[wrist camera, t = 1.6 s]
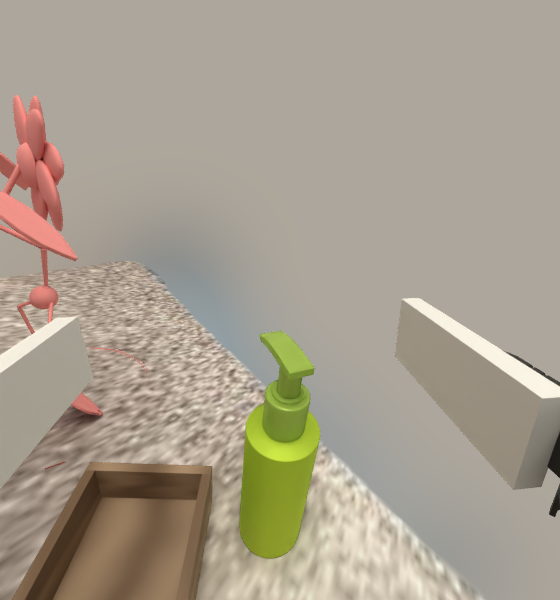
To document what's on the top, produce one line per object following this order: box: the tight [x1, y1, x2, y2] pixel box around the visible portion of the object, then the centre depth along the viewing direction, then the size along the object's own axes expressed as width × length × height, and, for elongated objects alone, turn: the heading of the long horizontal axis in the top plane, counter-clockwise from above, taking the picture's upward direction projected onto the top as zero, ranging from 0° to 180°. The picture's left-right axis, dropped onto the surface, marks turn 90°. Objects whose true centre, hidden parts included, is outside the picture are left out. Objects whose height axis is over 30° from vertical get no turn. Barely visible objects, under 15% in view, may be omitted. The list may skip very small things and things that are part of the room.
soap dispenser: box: [239, 331, 320, 558], centre depth 26 cm, size 6×7×20 cm
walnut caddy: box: [12, 462, 212, 600], centre depth 25 cm, size 11×11×5 cm
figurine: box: [0, 95, 149, 469], centre depth 36 cm, size 15×26×35 cm, turn 46°
